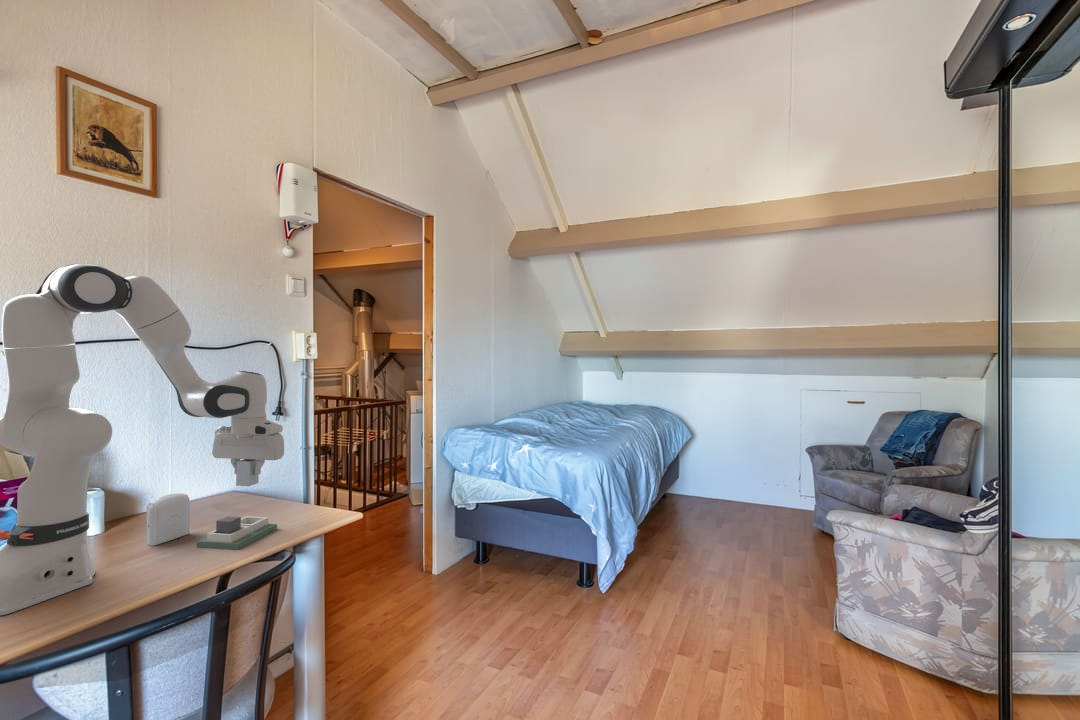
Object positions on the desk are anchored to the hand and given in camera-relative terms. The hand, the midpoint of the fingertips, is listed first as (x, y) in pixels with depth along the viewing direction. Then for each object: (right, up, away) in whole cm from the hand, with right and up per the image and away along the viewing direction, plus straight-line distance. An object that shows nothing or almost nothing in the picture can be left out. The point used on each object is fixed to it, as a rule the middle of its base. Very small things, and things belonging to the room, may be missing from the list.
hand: (247, 474), depth 143 cm
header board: (+1, -17, -5) cm, 17 cm away
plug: (0, -3, 0) cm, 3 cm away
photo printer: (-18, -17, -7) cm, 25 cm away
